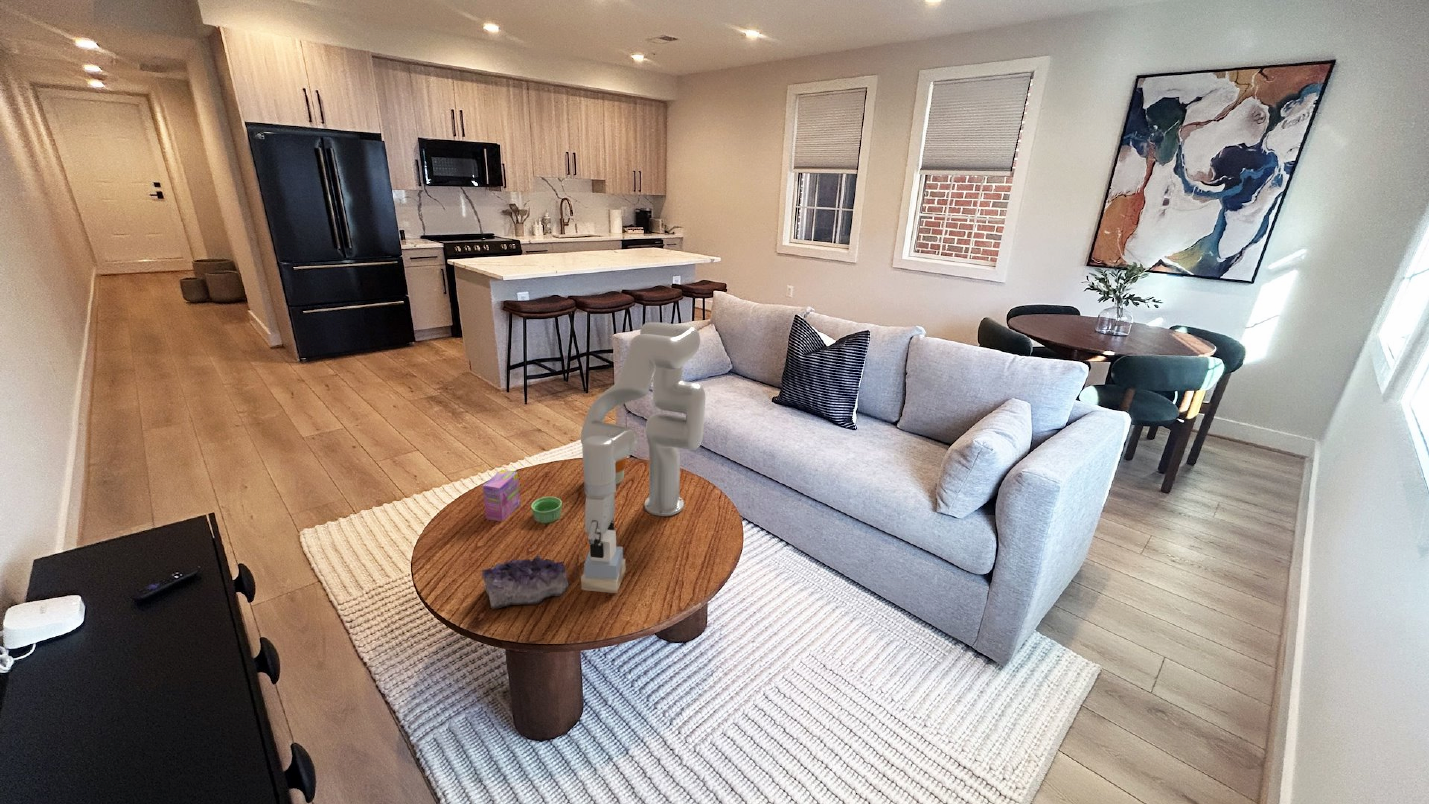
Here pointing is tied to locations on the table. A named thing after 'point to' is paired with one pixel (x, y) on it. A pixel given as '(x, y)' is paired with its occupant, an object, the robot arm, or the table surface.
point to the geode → (524, 581)
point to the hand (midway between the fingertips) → (602, 546)
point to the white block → (607, 545)
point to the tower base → (603, 582)
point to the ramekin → (546, 509)
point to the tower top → (604, 566)
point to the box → (501, 495)
